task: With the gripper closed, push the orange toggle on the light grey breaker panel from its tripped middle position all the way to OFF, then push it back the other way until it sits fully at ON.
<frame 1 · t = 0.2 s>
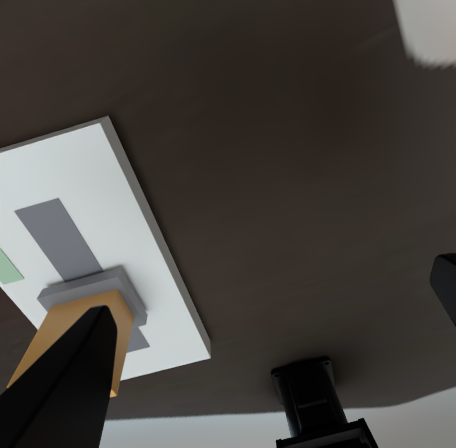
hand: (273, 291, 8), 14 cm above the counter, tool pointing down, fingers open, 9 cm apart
breaker panel: (100, 272, 25), on the counter
toggle: (81, 345, 20), point 6 cm above the counter, slide at 5.0 cm
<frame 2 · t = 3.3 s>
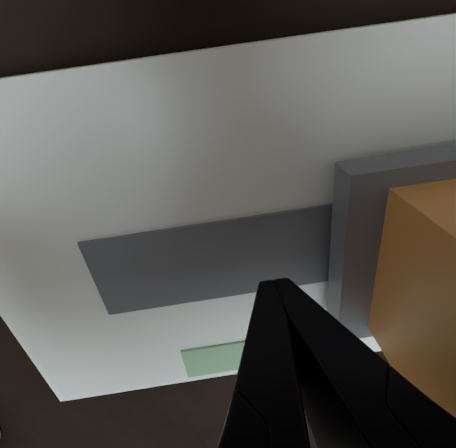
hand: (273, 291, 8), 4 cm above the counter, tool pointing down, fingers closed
breaker panel: (304, 216, 12), on the counter
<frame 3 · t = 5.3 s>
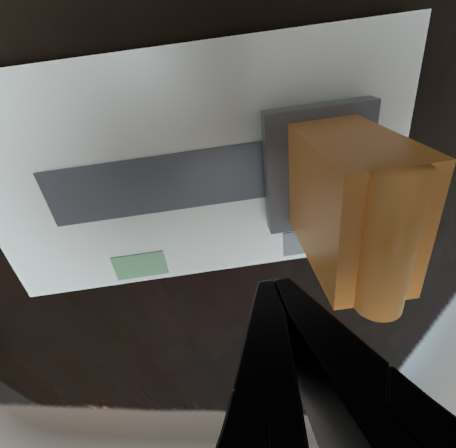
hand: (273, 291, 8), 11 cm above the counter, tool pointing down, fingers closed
breaker panel: (194, 166, 18), on the counter
toggle: (345, 200, 12), point 6 cm above the counter, slide at -0.1 cm
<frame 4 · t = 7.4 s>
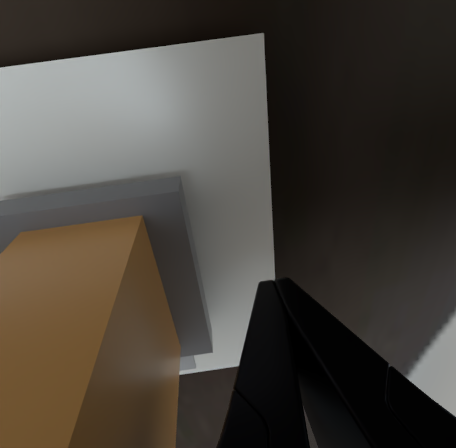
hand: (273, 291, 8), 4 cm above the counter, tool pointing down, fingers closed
toggle: (79, 397, 6), point 6 cm above the counter, slide at 0.0 cm, touching gripper
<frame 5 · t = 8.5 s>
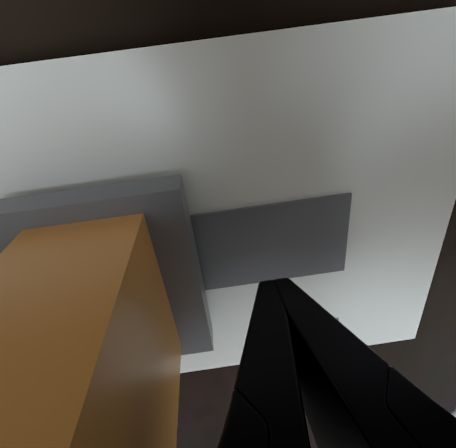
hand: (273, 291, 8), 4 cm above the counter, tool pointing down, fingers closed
breaker panel: (132, 233, 12), on the counter
toggle: (80, 394, 6), point 6 cm above the counter, slide at 5.9 cm, touching gripper
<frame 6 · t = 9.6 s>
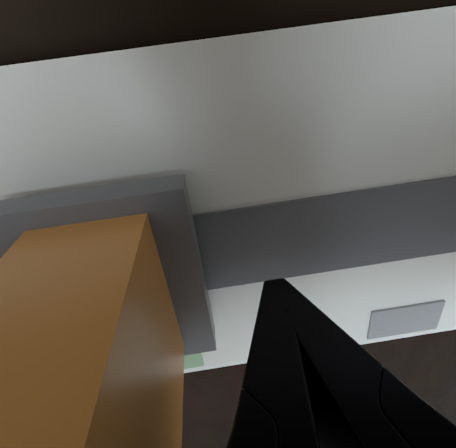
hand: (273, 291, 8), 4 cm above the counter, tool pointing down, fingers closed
breaker panel: (244, 217, 12), on the counter
toggle: (86, 395, 6), point 6 cm above the counter, slide at 10.2 cm, touching gripper
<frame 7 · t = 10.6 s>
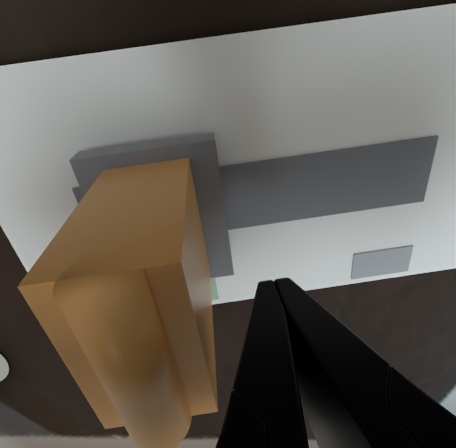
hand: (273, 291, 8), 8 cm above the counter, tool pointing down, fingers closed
breaker panel: (251, 177, 15), on the counter
toggle: (153, 272, 10), point 6 cm above the counter, slide at 10.1 cm
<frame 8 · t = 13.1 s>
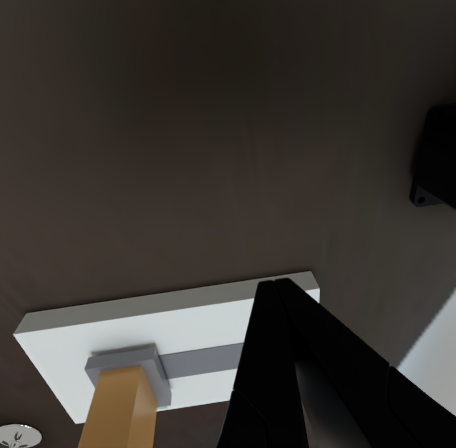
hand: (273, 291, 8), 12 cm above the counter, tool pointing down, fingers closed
breaker panel: (184, 343, 27), on the counter
toggle: (122, 429, 21), point 6 cm above the counter, slide at 10.1 cm
wineglass: (19, 433, 32), on the counter
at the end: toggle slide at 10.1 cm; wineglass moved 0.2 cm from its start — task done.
